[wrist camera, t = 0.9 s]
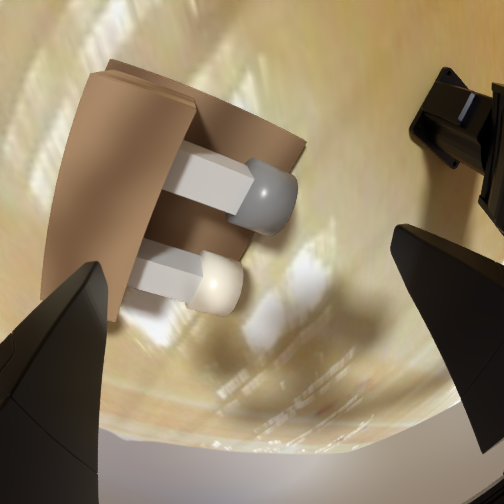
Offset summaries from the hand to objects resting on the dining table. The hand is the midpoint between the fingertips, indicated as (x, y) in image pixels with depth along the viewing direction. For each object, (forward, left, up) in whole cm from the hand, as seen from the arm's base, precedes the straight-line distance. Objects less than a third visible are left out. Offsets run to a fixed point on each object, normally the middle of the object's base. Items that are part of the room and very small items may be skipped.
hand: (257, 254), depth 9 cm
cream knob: (0, +8, -11) cm, 13 cm away
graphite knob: (0, +1, -11) cm, 11 cm away
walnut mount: (+1, +4, -12) cm, 13 cm away
